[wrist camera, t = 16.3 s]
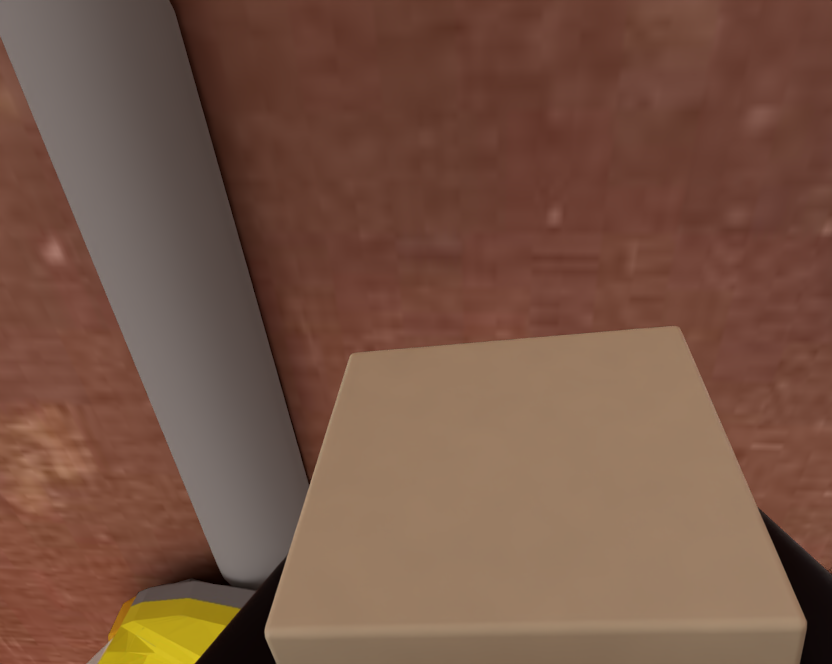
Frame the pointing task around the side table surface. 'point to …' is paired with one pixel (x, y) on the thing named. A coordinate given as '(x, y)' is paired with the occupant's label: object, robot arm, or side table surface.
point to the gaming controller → (171, 623)
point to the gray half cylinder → (167, 258)
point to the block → (531, 515)
